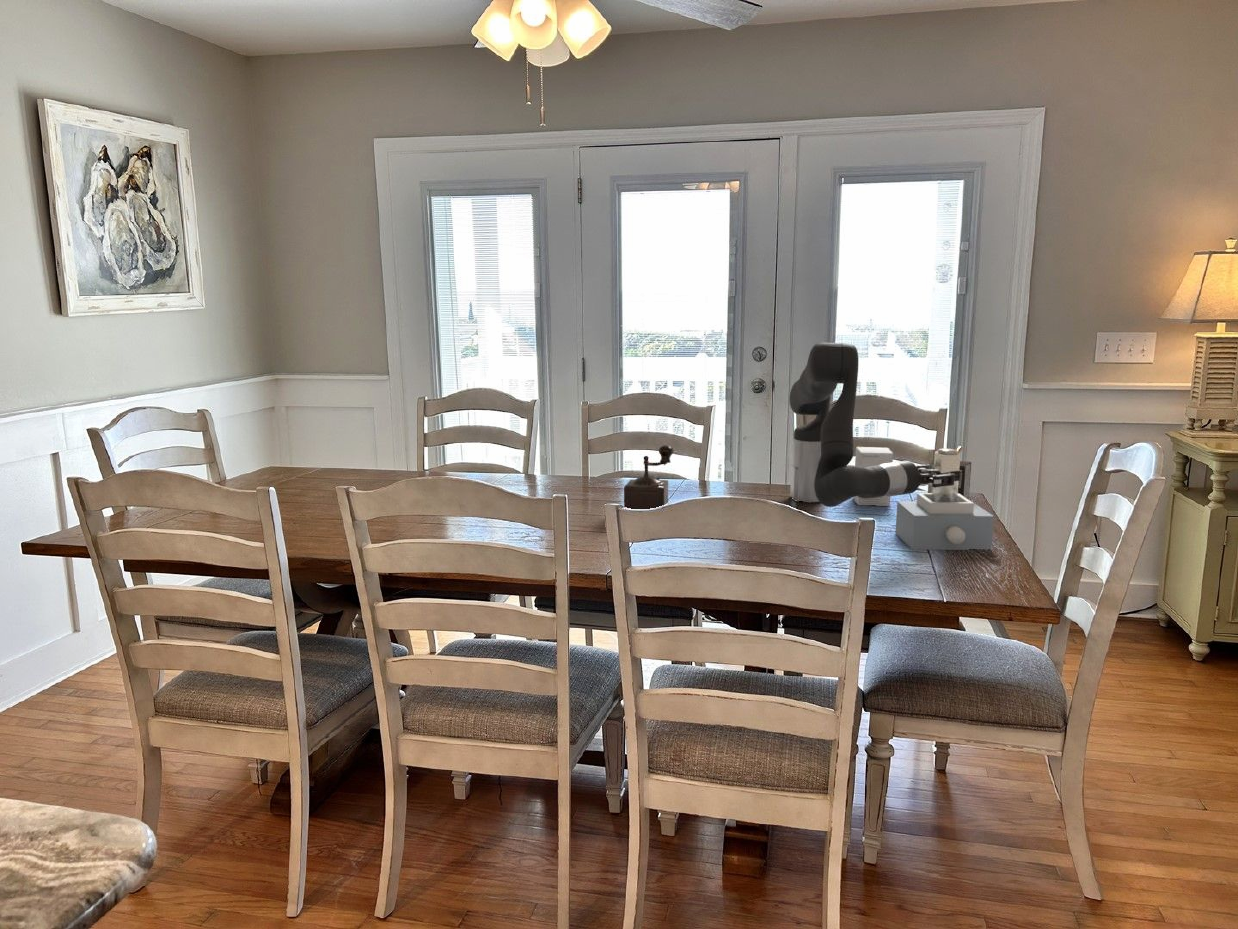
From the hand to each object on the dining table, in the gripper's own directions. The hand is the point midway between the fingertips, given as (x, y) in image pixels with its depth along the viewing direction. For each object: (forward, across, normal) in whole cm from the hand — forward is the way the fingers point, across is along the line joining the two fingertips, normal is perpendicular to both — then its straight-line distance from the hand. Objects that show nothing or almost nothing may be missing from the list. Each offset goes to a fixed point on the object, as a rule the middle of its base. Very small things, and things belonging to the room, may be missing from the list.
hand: (944, 472), depth 213 cm
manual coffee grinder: (-48, +54, +17) cm, 74 cm away
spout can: (+1, 0, +9) cm, 9 cm away
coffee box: (+14, +11, +17) cm, 25 cm away
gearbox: (0, -1, +17) cm, 17 cm away
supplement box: (+14, +37, +17) cm, 43 cm away
